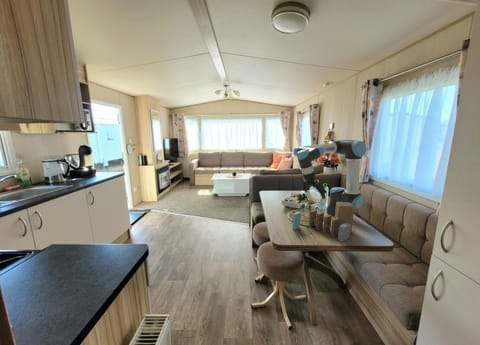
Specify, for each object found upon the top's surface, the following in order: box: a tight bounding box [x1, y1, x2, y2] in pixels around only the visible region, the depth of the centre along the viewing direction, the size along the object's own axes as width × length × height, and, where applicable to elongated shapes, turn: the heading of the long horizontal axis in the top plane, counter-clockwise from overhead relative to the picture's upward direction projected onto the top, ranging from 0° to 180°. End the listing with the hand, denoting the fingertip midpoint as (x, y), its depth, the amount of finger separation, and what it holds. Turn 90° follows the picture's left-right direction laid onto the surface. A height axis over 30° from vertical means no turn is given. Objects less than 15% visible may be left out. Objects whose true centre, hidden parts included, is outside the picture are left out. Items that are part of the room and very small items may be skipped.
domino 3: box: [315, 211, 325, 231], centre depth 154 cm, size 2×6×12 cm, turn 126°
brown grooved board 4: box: [322, 214, 333, 234], centre depth 149 cm, size 2×6×12 cm, turn 126°
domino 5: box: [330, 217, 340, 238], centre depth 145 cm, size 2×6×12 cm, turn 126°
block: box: [334, 202, 355, 234], centre depth 152 cm, size 10×10×20 cm
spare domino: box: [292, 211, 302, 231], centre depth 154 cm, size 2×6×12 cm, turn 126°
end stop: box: [337, 223, 351, 242], centre depth 140 cm, size 9×3×10 cm, turn 126°
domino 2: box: [308, 209, 318, 228], centre depth 159 cm, size 2×6×12 cm, turn 126°
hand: (316, 201), depth 144 cm, fingers open, 13 cm apart
